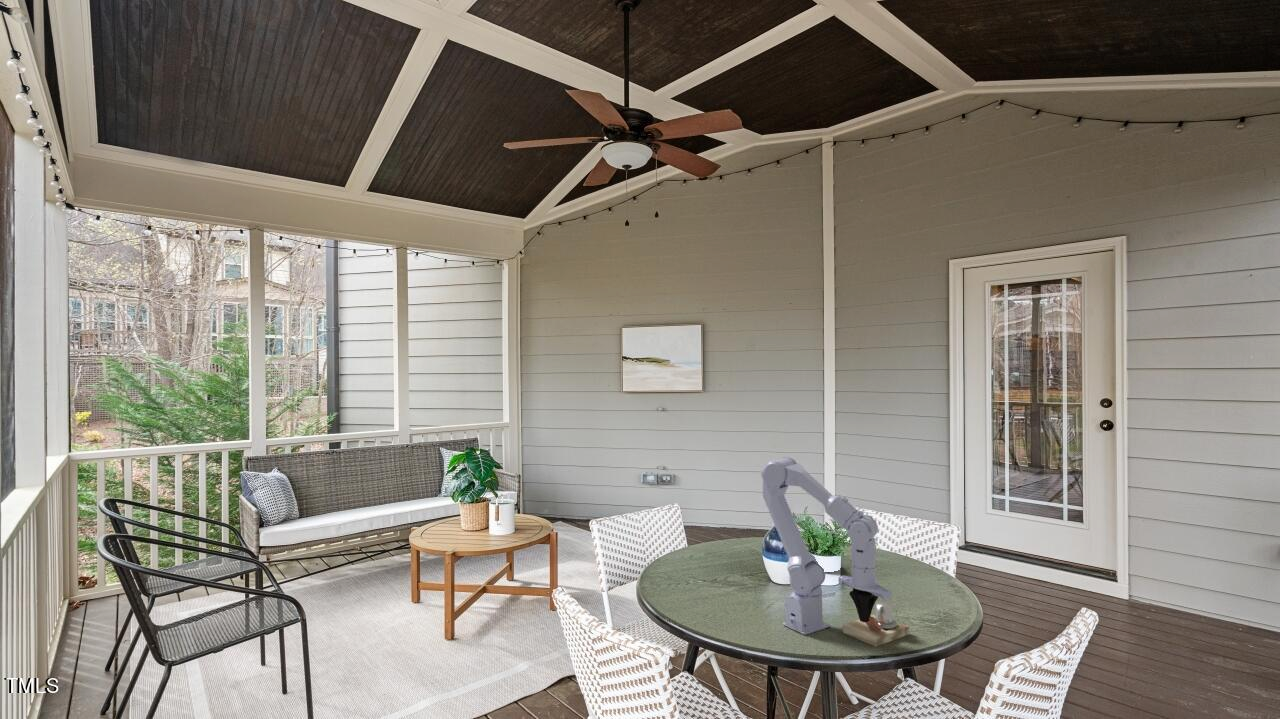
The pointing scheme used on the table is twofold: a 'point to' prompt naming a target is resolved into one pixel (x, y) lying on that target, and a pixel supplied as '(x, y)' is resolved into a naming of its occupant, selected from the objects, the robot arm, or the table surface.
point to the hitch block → (874, 632)
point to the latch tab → (873, 623)
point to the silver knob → (885, 616)
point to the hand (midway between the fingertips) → (864, 620)
